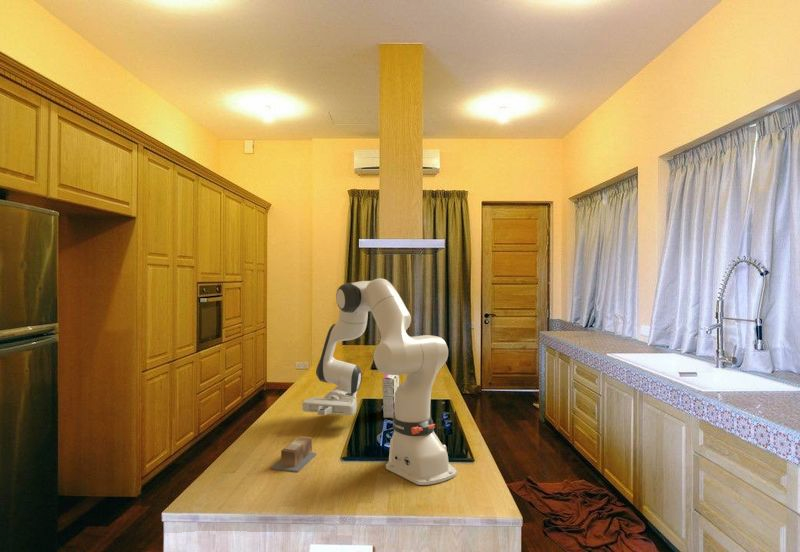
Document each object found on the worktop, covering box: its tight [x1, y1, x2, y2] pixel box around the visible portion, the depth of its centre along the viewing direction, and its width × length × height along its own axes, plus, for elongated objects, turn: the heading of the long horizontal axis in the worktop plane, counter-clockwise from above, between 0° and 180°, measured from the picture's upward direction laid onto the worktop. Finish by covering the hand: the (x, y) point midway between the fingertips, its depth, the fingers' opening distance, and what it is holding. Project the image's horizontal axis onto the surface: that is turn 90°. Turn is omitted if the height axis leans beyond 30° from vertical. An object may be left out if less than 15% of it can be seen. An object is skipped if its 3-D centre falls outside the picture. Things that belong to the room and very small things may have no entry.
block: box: [280, 435, 313, 467], centre depth 141 cm, size 5×4×12 cm
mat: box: [270, 452, 317, 473], centre depth 139 cm, size 13×9×1 cm
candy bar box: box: [382, 374, 400, 419], centre depth 185 cm, size 11×5×16 cm, turn 168°
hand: (321, 412), depth 159 cm, fingers closed
